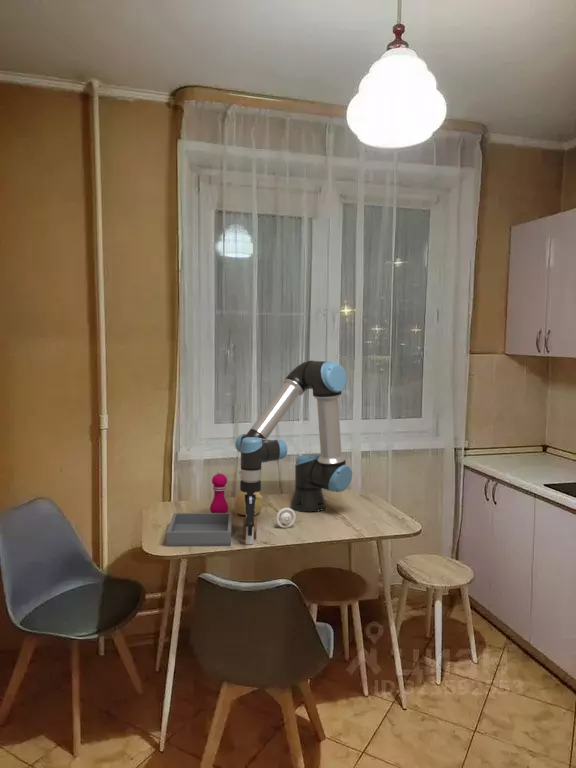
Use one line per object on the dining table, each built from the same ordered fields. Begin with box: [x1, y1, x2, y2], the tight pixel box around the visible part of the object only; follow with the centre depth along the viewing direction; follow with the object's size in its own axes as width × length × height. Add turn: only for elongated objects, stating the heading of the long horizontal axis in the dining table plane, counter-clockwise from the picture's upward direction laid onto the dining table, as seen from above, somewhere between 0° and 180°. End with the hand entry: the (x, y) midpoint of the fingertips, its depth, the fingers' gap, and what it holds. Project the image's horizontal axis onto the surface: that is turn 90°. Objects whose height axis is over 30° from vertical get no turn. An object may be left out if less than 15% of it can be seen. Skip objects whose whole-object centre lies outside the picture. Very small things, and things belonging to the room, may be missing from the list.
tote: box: [166, 512, 233, 547], centre depth 219 cm, size 22×22×5 cm
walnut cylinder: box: [242, 517, 258, 541], centre depth 218 cm, size 5×5×7 cm
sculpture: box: [233, 490, 264, 516], centre depth 246 cm, size 11×12×11 cm
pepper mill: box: [209, 470, 229, 513], centre depth 238 cm, size 7×7×20 cm
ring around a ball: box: [275, 507, 297, 529], centre depth 231 cm, size 8×6×8 cm
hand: (249, 537), depth 218 cm, fingers open, 12 cm apart
